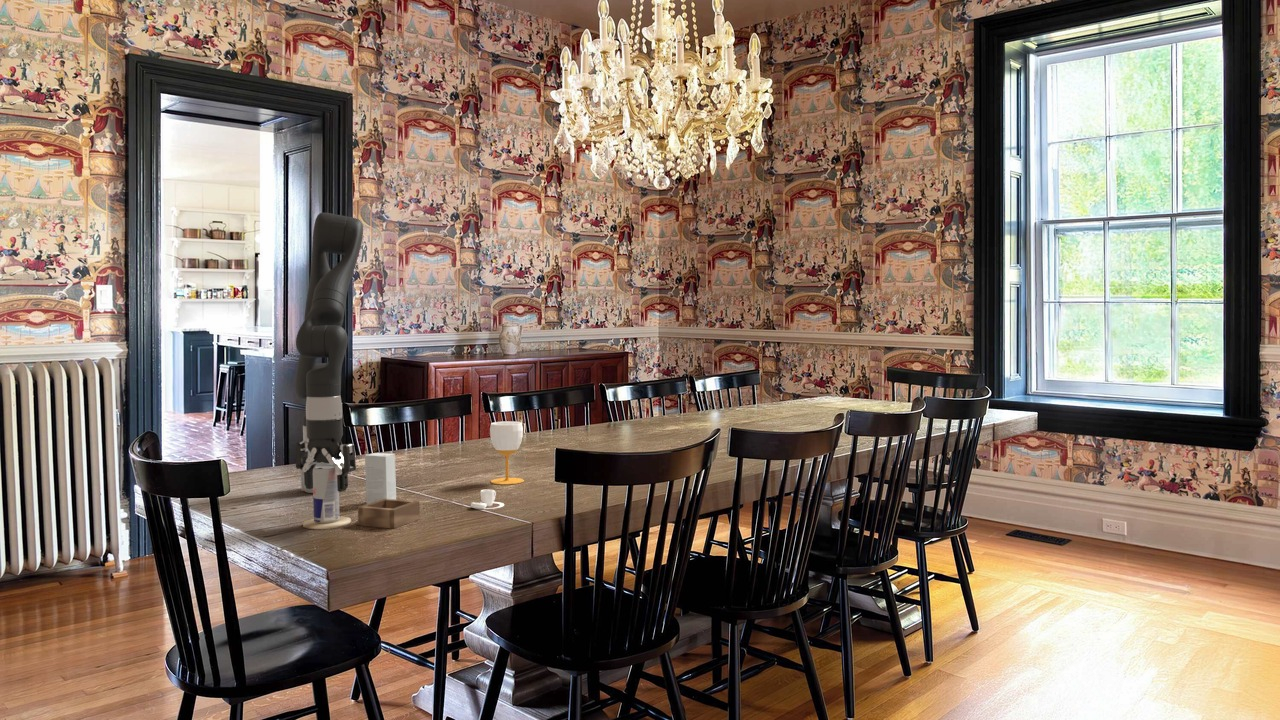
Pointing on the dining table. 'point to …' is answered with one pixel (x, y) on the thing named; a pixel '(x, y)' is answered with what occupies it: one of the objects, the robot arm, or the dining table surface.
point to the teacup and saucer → (486, 500)
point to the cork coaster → (340, 523)
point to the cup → (506, 445)
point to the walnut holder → (388, 513)
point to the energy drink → (325, 494)
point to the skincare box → (380, 477)
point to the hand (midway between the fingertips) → (326, 489)
